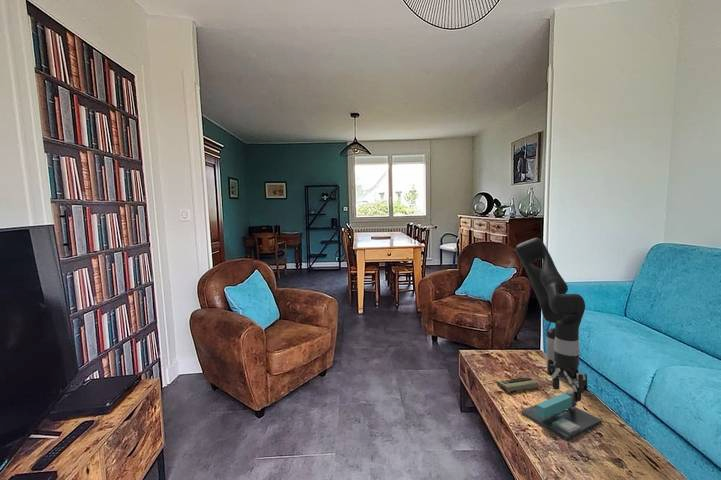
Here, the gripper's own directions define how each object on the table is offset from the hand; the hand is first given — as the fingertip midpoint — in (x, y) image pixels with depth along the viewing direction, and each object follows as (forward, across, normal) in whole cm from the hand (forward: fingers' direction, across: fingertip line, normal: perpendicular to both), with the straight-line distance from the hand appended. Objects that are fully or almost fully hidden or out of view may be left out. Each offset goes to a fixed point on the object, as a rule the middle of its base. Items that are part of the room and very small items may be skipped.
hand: (566, 394), depth 119 cm
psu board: (+13, -6, +4) cm, 15 cm away
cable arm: (+10, -7, +4) cm, 13 cm away
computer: (+14, -31, +6) cm, 34 cm away
